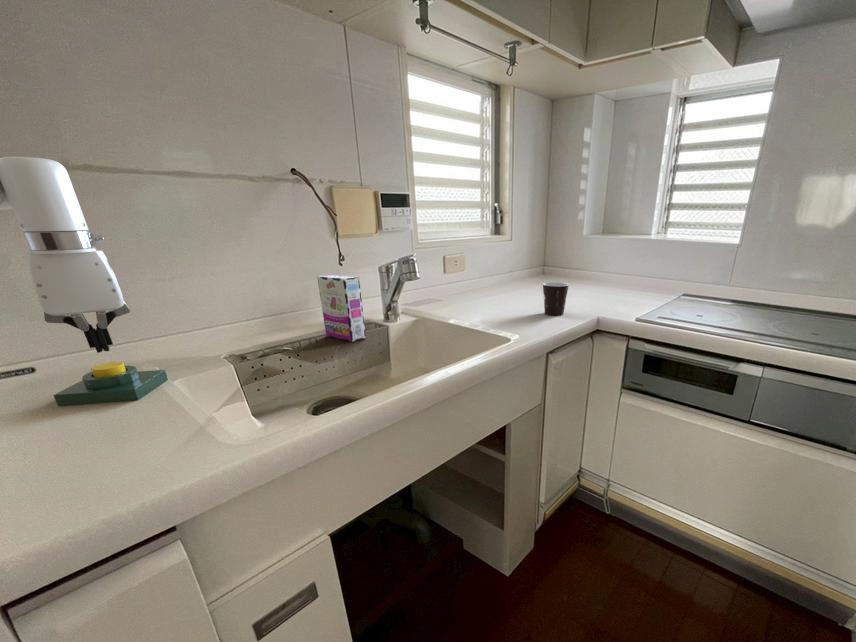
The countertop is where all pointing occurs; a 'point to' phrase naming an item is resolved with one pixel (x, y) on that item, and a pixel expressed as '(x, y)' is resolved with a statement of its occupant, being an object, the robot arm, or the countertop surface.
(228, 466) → the countertop surface
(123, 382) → the control box
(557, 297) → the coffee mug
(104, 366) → the button
